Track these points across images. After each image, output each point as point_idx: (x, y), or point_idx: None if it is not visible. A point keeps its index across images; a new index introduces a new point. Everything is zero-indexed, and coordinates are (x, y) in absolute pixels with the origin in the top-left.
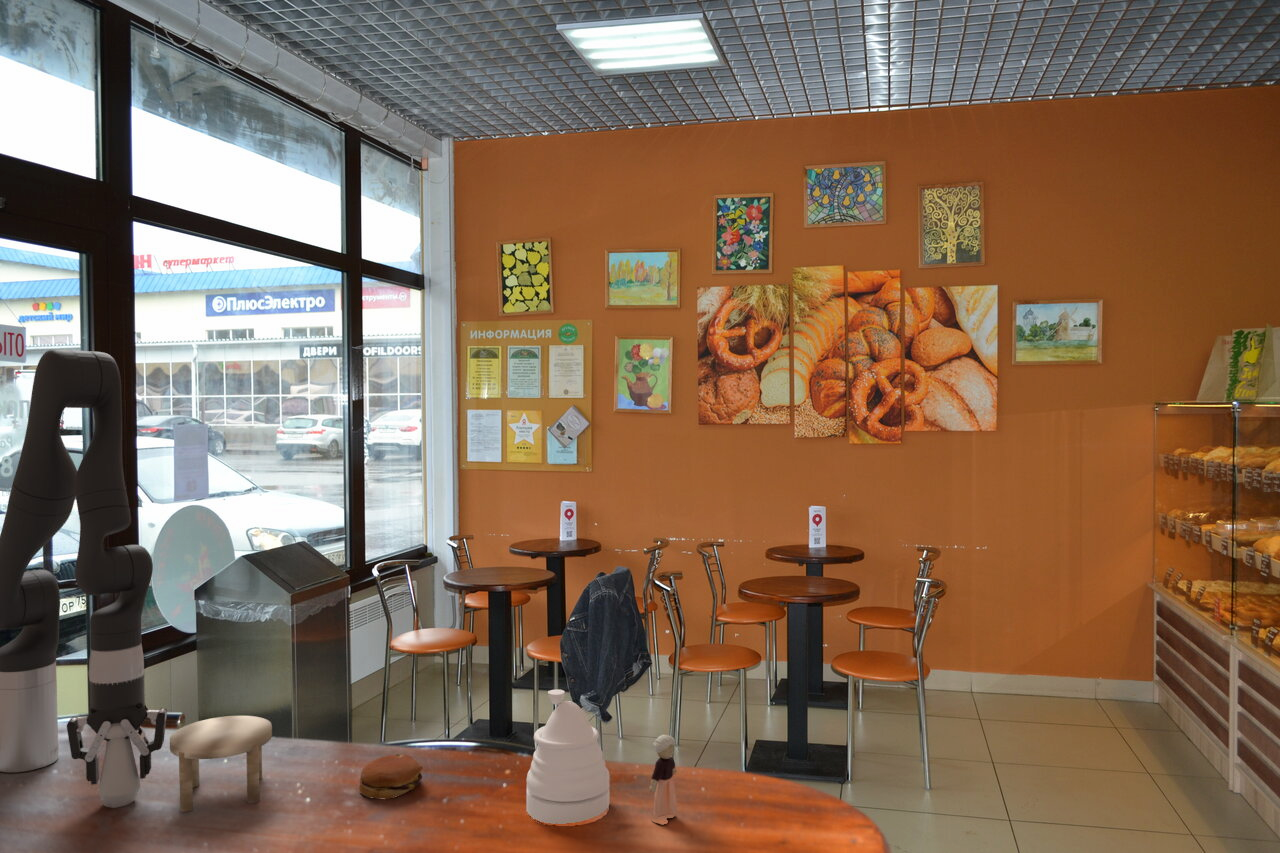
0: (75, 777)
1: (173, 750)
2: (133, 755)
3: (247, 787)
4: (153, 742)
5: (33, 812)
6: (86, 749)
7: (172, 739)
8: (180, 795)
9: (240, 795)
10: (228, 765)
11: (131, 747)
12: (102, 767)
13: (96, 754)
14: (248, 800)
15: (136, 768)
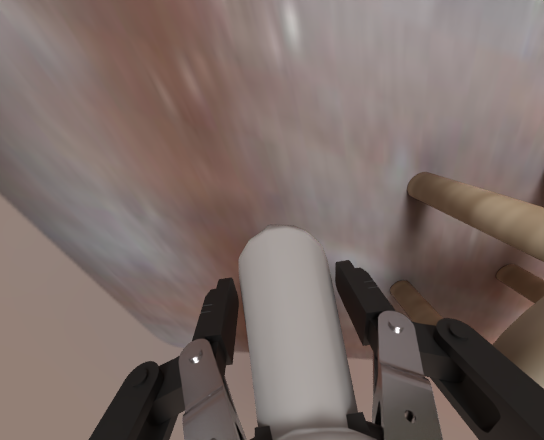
0: (60, 40)
1: None
2: (340, 331)
3: (528, 297)
4: (438, 374)
5: (124, 266)
6: (178, 395)
7: None
8: (409, 316)
9: (494, 248)
10: (537, 37)
11: (346, 365)
12: (245, 319)
13: (217, 355)
14: (501, 281)
15: (333, 293)
